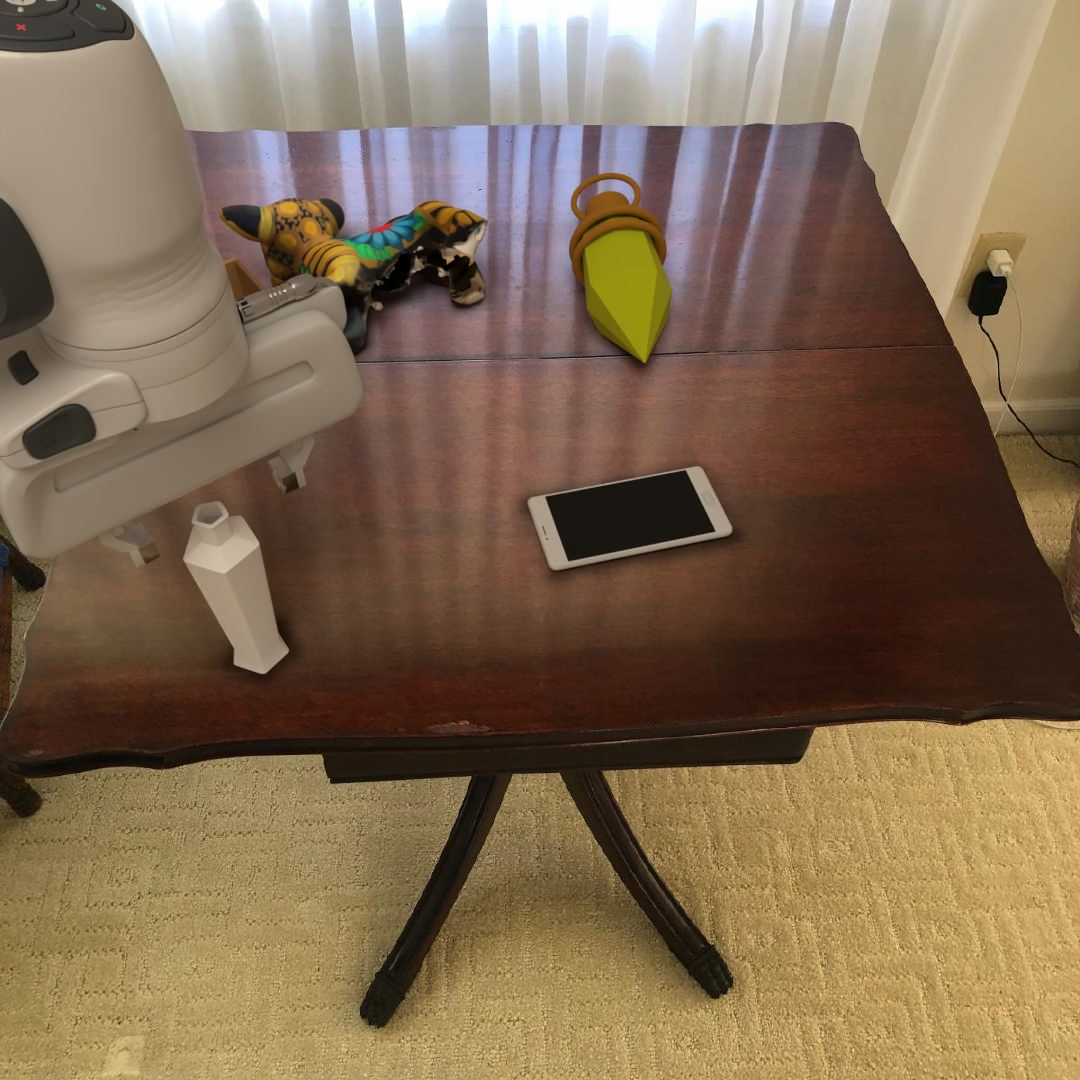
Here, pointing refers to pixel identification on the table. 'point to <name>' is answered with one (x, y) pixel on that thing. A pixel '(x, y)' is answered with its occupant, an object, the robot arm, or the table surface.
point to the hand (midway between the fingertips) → (220, 519)
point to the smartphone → (627, 517)
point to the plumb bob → (621, 267)
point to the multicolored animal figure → (366, 251)
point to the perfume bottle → (235, 585)
